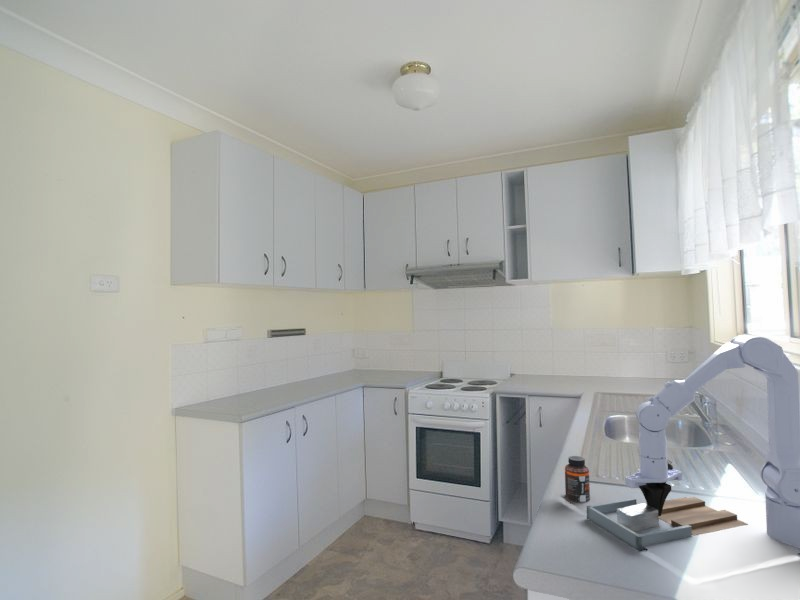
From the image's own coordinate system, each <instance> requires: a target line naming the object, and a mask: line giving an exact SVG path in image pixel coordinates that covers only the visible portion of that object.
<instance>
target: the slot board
mask: <svg viewBox="0 0 800 600" xmlns="http://www.w3.org/2000/svg"><path fill="white" fill-rule="evenodd" d="M658 517H659V519H660V520H662V521H664V522H665V523H668V524H670V525H671V526H674V528H675V527H680V526H685V525H689V526H691V530H692V536H699V535H703V534H707V533H714V532H718V531H723V530H728V529H732V528H737V527H742V526H747V525H749V524H748V523H747V522H744V521H742V520H739V519H738V514H735V513H734V512H731V511H729V510H726V509H722V510H716V509H715V508H712V507H709V506H707V505H706V501H705V500H702V499H701V498H697V497H695V496H691V497H685V496H684V497H679V498H673V499H672V498H671V499H668V500H667V499H666V500H665V502H664V506H663V509H662V513H661V516H658Z"/></svg>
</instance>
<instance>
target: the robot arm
mask: <svg viewBox="0 0 800 600" xmlns="http://www.w3.org/2000/svg"><path fill="white" fill-rule="evenodd" d="M746 365H748V366H749V367H752V368H753V369H754V370H755V371H757V372H758V373H759V374H761V375H762V376H764V377H765V378H766V391H767V396H766V397H767V421H768V422H767V423H768V424H767V425H768V451H767V452H766V454H765V455H764V464H763V465H762V467H761V469H760V478H761V480H762V482H763V483H764V484H765V486H766V491H765V496H764V499H765V517H766V534H767V536H768V537H770V538H771V539H773V540H775V541H777V542H780V543H784V544H785V545H788V546H789V545H790V546H792V547H794V548H796V549H799V550H800V392H799V391H800V390H799V389H800V387H799V383H800V382H799V372H798V370H797V367H795V366H794V364H793V363H792V361H791V360H790V358H788V356H787V355H786V354H785V353H784V350H783V347H782V346H781V345H780V344H777V343H776V342H775V341H772V340H771V339H769V338H767V337H764V336H753V335H751V334H739V335H737V336H734V337H733V338H732V339H731V340H730V341H729V342H726V343H724V344H723V345H721V347H719V348H718V349H717V350H716V351H714V352H713V353H712V354H711V355H710V356H709V357H708V358H706V359H705V360H704V361H703V362H702V363H701V364H700V365H699V366H698V367H696V368H695V370H693V371H692V372H691V373H689V374H688V376H687V377H685V378H684V379H681V380H680V379H674V380H672V381H671V382H670V381H668V380H667V381H666V382H665V383H664V384H663V386H664V388H662V389H661V390H659V392H657V393H656V394H655V395H654V396H651V395H650V396H649V397H648V398H647V400H648V401H644V402H642V403H640V404H639V405H638V407H636V408H637V410H636V411H635V417H636V419H637V420H638V421H639V422H638V431H639V432H638V454H639V455H638V458H639V468H638V469H637V472H635V473H633V474H631V475H628V476H624V481H625V483H624V484H625V486H626V487H628V488H631V489H636V487H638V488H639V489H640V491H641V493H642V495H643V497H644V499H645V502H646V504H647V505H649V506H651V507H653V508H655V509H657V510H658V516H661V513H662V509H663V506H664V502H665V501H667V497H668V496H669V494H670V493H671V491H672V486H671V484H668V483H669V482H670V481H679V482H681V481H683V472H682V471H680V470H677V469H674V468H673V469H669V468H668V463H669V462H668V463H667V460H668V445H667V444H668V443H667V441H668V439H667V436H666V432H667V431H666V428H667V427H668V426H669V422H670V419H671V418H674V417H675V416H676V415H677V414H678V413H679V414H680V412H681V411H682V410H684V409H685V408H686V407H687V406H689V405H690V404H691V403H692V402H694V401H695V400H696V392H697V391H698V390H699V389H701V388H702V387H704V386H705V385H706V384H708V383H709V382H711V381H712V380H714V379H715V378H716V377H718V376H719V375H720V374H722V373H723V372H725V371H726V370H731V369H741V368H746ZM667 482H668V483H667ZM796 554H797V555H799V556H800V552H797V553H796Z"/></svg>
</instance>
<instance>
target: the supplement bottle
mask: <svg viewBox="0 0 800 600" xmlns="http://www.w3.org/2000/svg"><path fill="white" fill-rule="evenodd" d="M585 460H586V459H585V458H584V457H583V456H579V455H578V456H577V455H570V456H568V460H567V461H568V462H567V463H568V464H565V466H564V480H565V482H564V484H565V486H564V488H565V490H564V491H565V499H566V502H568V503H569V502H570V503H569V504H571V503H572V502H575V503H580V504H581V503H587V502H589V501H590V499H591V492H590V469H589V467H588V466H586V465H585V464H586V461H585Z"/></svg>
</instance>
